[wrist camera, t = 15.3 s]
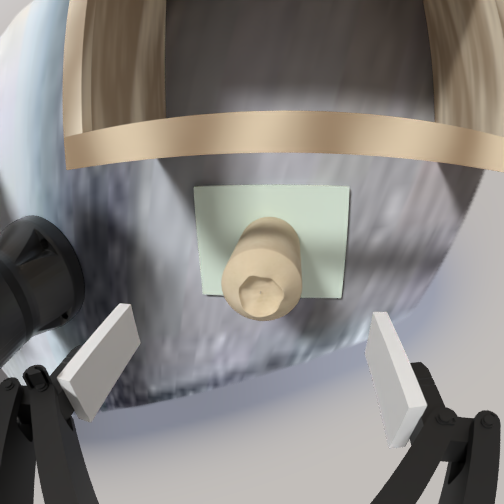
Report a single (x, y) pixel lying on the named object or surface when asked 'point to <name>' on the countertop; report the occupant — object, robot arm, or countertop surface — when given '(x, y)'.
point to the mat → (286, 208)
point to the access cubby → (273, 122)
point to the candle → (264, 271)
